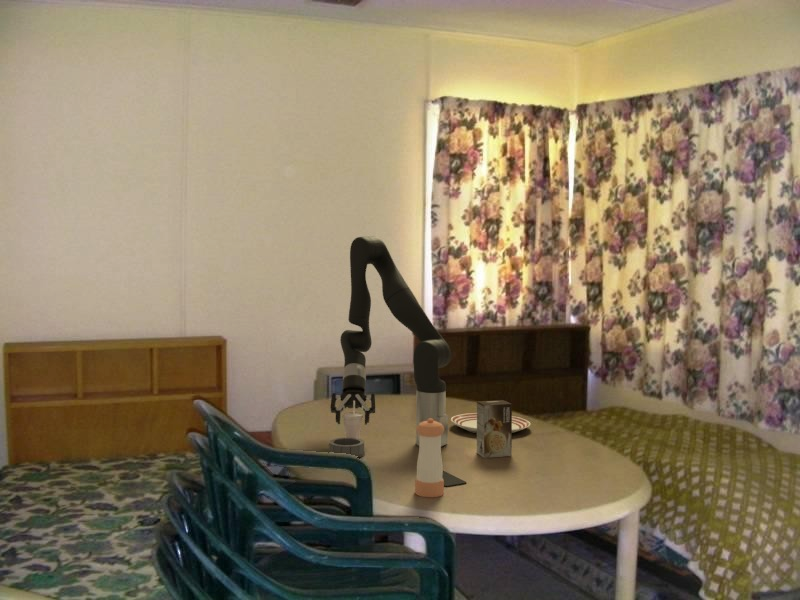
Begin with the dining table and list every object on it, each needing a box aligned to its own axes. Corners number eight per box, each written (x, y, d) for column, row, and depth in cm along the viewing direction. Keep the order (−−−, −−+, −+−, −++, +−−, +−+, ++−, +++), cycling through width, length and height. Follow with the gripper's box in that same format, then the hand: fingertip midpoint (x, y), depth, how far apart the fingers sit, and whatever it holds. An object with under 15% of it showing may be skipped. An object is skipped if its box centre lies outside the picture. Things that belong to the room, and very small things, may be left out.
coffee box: (503, 451, 241) (504, 399, 240) (512, 456, 235) (513, 403, 234) (475, 452, 238) (476, 400, 237) (483, 458, 232) (484, 405, 231)
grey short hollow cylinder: (371, 452, 237) (371, 440, 237) (352, 461, 227) (352, 448, 227) (341, 447, 242) (341, 435, 242) (321, 455, 233) (321, 443, 232)
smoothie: (354, 447, 242) (355, 403, 241) (338, 444, 246) (338, 400, 245) (366, 443, 248) (366, 400, 247) (350, 440, 251) (350, 397, 250)
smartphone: (445, 486, 203) (415, 470, 216) (445, 490, 203) (415, 474, 216) (468, 482, 207) (437, 467, 220) (468, 485, 207) (437, 470, 220)
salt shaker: (449, 493, 199) (450, 418, 198) (430, 499, 194) (431, 423, 192) (428, 486, 204) (429, 414, 203) (409, 492, 199) (410, 418, 198)
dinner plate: (494, 417, 289) (495, 408, 289) (547, 432, 266) (547, 423, 266) (434, 426, 274) (434, 416, 274) (484, 443, 251) (484, 432, 251)
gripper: (331, 373, 253) (329, 416, 242) (375, 374, 253) (375, 416, 242) (332, 386, 258) (330, 429, 248) (376, 387, 259) (375, 429, 248)
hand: (352, 423), depth 245 cm, fingers open, 8 cm apart
